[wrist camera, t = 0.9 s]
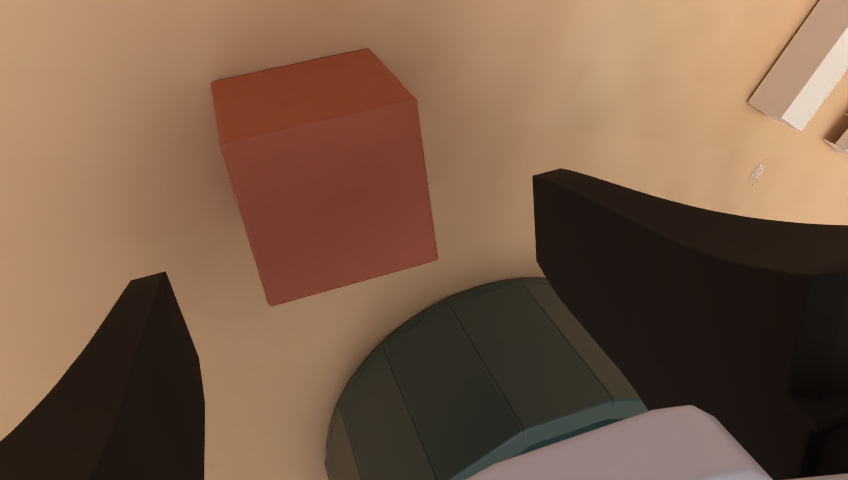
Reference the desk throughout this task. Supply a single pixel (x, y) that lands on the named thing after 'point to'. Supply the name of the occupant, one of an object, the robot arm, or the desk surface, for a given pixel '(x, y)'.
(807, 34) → the modular blocks
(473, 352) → the pot
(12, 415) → the desk surface
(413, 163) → the block
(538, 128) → the desk surface
